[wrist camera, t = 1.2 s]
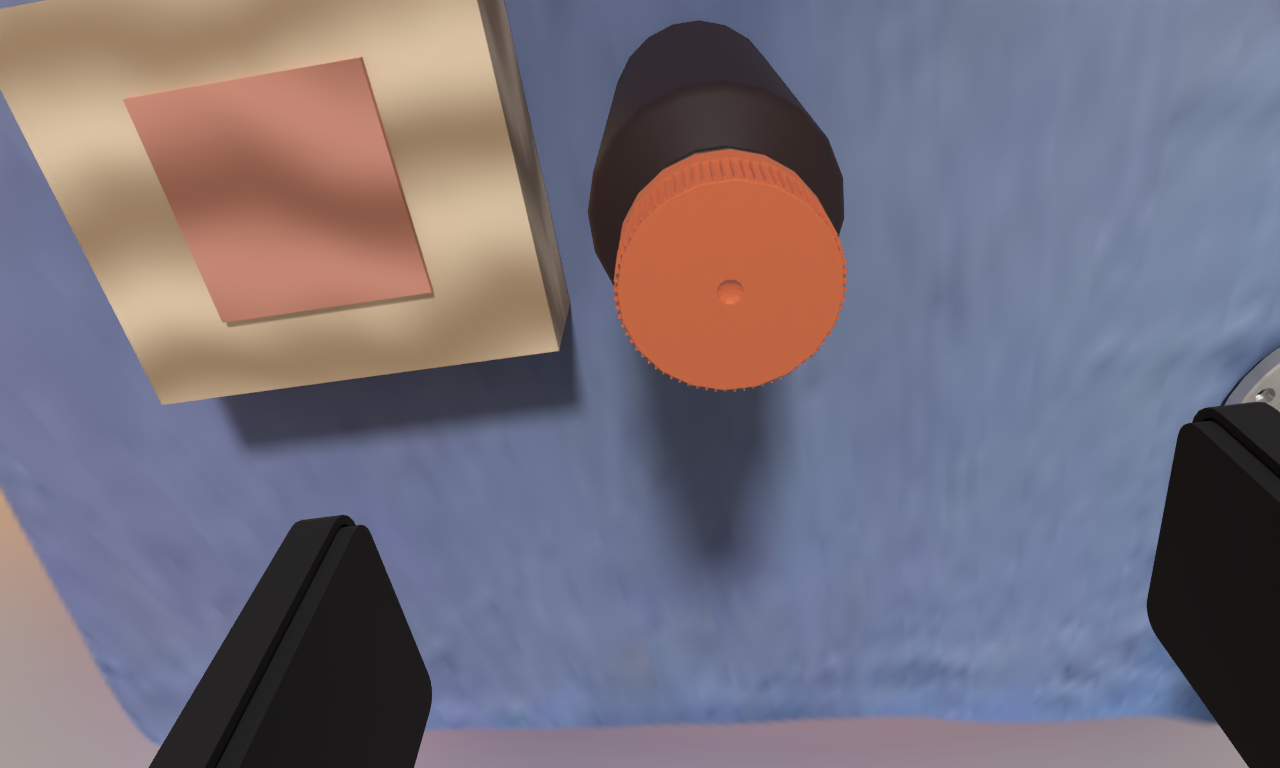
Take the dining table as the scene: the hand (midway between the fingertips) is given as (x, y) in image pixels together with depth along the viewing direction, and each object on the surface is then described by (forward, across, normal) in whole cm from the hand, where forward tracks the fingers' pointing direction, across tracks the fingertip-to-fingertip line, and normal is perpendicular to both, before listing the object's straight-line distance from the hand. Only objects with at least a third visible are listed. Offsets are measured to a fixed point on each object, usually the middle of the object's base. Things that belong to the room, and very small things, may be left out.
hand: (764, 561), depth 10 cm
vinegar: (+29, 0, 0) cm, 29 cm away
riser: (+29, +16, 0) cm, 33 cm away
